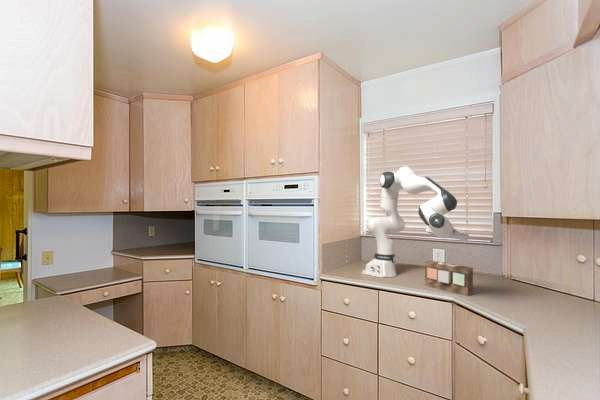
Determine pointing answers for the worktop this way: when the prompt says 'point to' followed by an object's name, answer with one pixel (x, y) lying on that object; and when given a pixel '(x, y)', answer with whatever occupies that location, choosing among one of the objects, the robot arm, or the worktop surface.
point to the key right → (459, 278)
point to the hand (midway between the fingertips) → (449, 236)
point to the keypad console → (452, 287)
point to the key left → (432, 273)
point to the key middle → (444, 276)
